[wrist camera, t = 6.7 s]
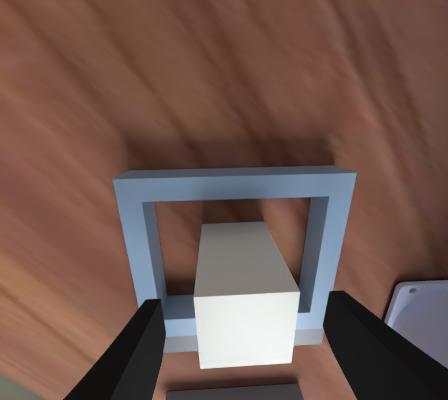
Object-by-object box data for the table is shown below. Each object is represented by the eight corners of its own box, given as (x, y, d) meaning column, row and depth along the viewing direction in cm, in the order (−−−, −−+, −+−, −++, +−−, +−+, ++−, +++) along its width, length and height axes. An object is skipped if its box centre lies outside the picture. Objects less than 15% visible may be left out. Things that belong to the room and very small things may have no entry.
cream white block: (264, 221, 14) (300, 291, 8) (262, 272, 15) (290, 362, 9) (202, 223, 13) (193, 297, 8) (205, 275, 15) (200, 368, 9)
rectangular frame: (335, 165, 12) (356, 173, 11) (297, 391, 20) (305, 419, 18) (128, 170, 12) (112, 179, 10) (168, 399, 19) (163, 429, 17)
